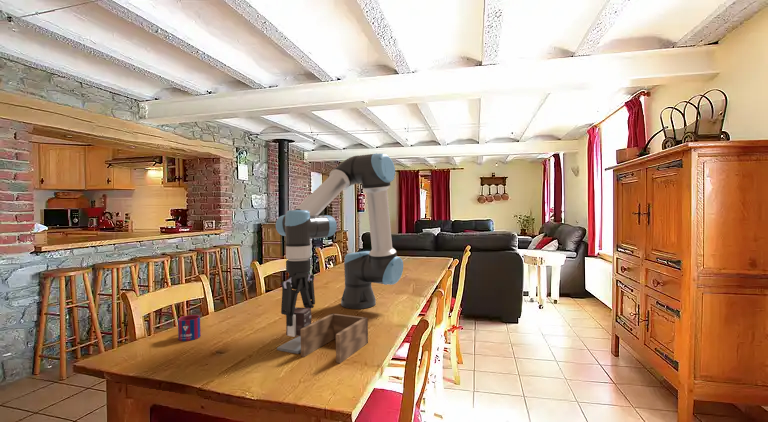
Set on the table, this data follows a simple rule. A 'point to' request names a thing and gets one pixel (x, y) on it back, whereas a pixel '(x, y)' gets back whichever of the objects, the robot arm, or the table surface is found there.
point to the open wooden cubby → (335, 335)
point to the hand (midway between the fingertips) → (299, 331)
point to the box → (301, 319)
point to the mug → (189, 328)
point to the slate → (291, 346)
